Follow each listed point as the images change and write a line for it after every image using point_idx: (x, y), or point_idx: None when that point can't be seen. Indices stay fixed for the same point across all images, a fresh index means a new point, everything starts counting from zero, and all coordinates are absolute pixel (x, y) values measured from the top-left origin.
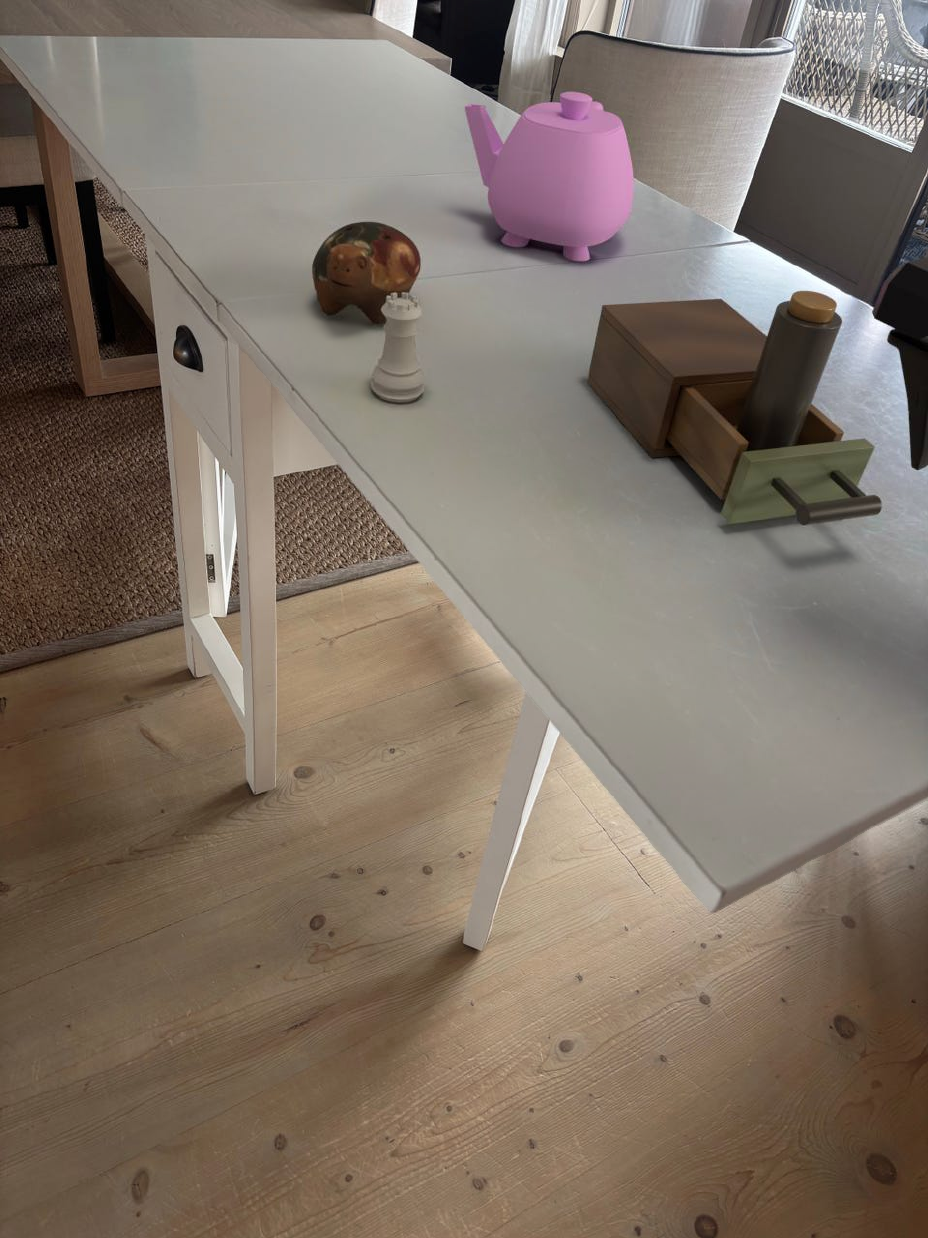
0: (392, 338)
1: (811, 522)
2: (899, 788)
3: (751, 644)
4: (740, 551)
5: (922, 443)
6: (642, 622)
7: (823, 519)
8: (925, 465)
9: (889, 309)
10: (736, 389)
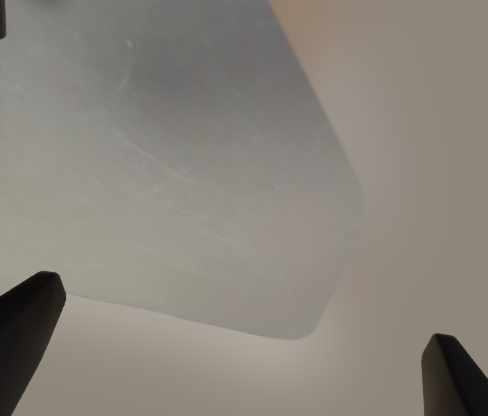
0: None
1: (5, 28)
2: (359, 218)
3: (154, 168)
4: None
5: (30, 379)
6: (88, 218)
7: (2, 7)
8: (57, 282)
9: None
10: None
